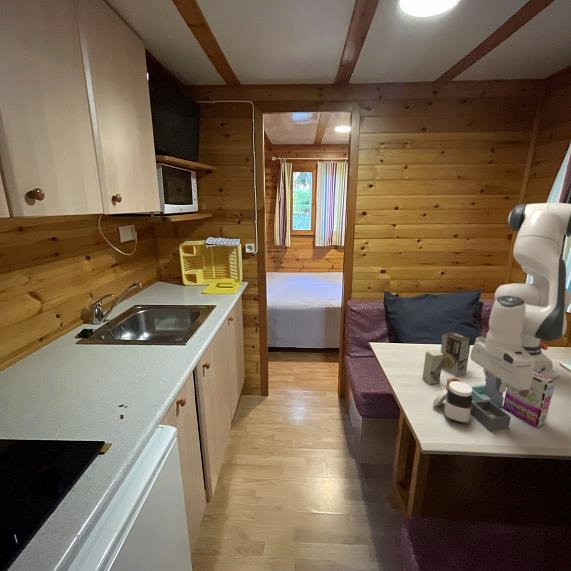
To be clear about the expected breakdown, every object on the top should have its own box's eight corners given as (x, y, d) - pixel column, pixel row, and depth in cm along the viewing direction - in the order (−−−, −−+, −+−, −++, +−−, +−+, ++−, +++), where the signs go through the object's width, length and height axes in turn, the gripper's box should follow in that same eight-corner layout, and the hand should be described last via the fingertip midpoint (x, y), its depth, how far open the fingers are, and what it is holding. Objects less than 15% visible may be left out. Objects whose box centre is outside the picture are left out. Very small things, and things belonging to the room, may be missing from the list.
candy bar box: (546, 424, 102) (556, 380, 98) (537, 428, 100) (547, 384, 96) (510, 404, 112) (519, 363, 108) (501, 408, 110) (509, 367, 106)
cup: (455, 388, 122) (457, 377, 120) (463, 395, 118) (465, 383, 116) (445, 389, 121) (447, 378, 120) (453, 396, 117) (454, 385, 116)
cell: (493, 392, 103) (497, 366, 101) (501, 398, 100) (506, 372, 98) (483, 393, 103) (488, 367, 100) (492, 400, 100) (497, 373, 97)
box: (429, 384, 125) (432, 355, 121) (421, 379, 129) (425, 350, 125) (440, 382, 126) (444, 354, 123) (432, 377, 130) (436, 349, 127)
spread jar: (469, 429, 100) (474, 398, 97) (431, 418, 106) (434, 388, 102) (468, 408, 110) (473, 379, 107) (433, 399, 116) (437, 371, 113)
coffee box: (466, 373, 132) (472, 338, 128) (456, 377, 130) (461, 341, 126) (447, 363, 140) (452, 330, 136) (437, 367, 138) (442, 333, 133)
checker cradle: (484, 408, 110) (486, 397, 109) (508, 428, 100) (510, 416, 99) (466, 410, 109) (468, 399, 108) (489, 431, 99) (491, 419, 98)
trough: (485, 393, 119) (486, 384, 118) (502, 406, 111) (503, 397, 110) (466, 395, 118) (467, 386, 117) (482, 408, 110) (483, 399, 109)
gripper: (468, 335, 106) (463, 370, 110) (521, 364, 87) (512, 406, 90) (485, 333, 107) (479, 369, 111) (540, 362, 88) (531, 404, 91)
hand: (494, 386), depth 101 cm, fingers closed on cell, 3 cm apart
